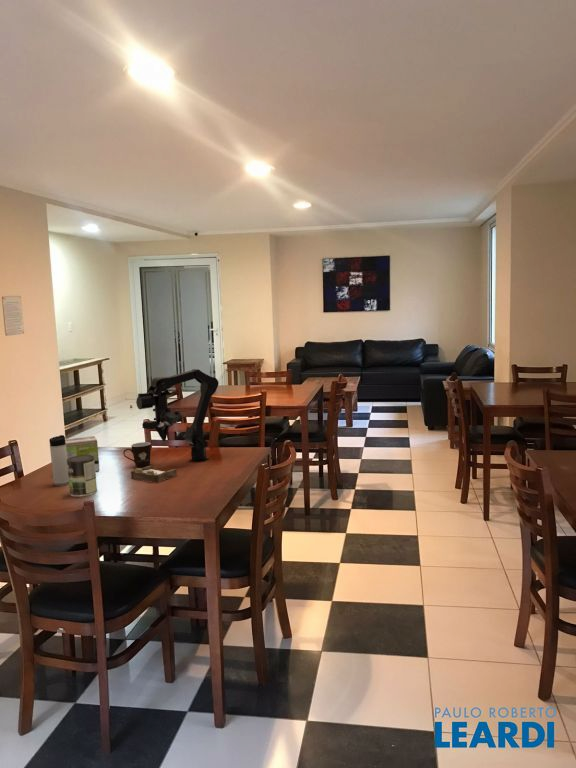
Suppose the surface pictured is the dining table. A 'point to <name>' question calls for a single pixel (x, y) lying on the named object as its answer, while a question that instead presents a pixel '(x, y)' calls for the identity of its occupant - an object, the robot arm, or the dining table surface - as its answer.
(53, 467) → the travel mug
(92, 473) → the coffee can
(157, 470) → the door panel
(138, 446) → the coffee mug
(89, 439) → the tea box
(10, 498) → the dining table surface
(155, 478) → the cabinet frame
